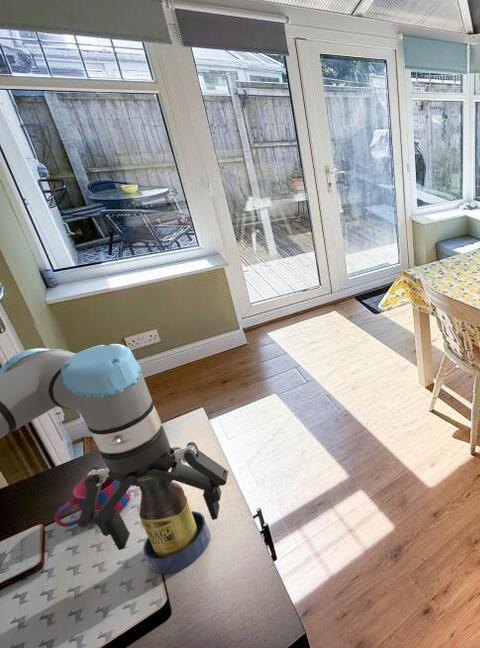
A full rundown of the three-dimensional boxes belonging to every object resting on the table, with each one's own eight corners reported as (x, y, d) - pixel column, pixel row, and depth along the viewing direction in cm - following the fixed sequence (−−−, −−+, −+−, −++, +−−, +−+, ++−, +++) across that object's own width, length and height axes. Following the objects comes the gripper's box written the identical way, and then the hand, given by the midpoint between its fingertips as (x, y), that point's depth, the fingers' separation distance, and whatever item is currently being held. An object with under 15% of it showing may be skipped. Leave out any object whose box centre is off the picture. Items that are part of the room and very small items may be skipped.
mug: (137, 501, 83) (125, 477, 81) (70, 544, 75) (55, 519, 73) (122, 486, 86) (110, 462, 83) (56, 526, 78) (41, 501, 75)
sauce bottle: (149, 561, 73) (109, 483, 65) (180, 527, 78) (147, 451, 70) (181, 568, 72) (145, 489, 64) (210, 533, 78) (180, 457, 70)
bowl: (143, 583, 70) (136, 569, 68) (158, 536, 77) (151, 522, 76) (205, 561, 73) (199, 547, 72) (214, 518, 81) (208, 504, 79)
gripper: (8, 483, 56) (70, 578, 65) (221, 430, 66) (249, 519, 75) (37, 443, 62) (89, 535, 71) (227, 400, 72) (253, 485, 81)
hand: (171, 527), depth 73 cm, fingers open, 12 cm apart
